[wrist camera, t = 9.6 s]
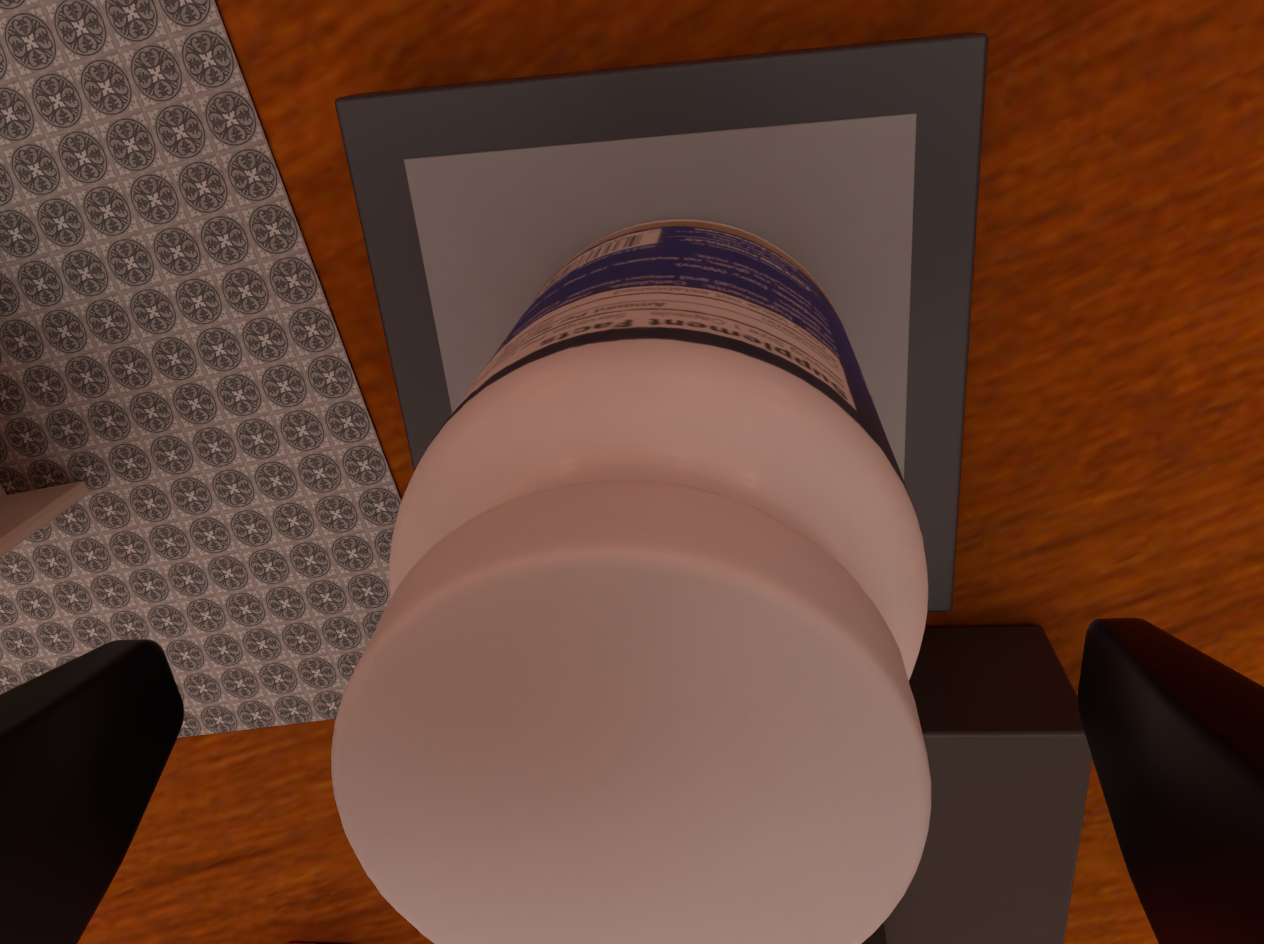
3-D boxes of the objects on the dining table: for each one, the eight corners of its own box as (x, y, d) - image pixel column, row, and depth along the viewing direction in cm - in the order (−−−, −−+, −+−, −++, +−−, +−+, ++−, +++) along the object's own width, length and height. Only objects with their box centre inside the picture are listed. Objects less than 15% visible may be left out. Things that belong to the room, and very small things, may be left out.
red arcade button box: (1042, 623, 19) (1139, 813, 14) (1004, 959, 23) (1069, 1186, 18) (466, 634, 20) (389, 808, 16) (531, 946, 24) (485, 1153, 20)
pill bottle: (794, 555, 17) (857, 1122, 8) (497, 482, 17) (241, 973, 8) (900, 257, 15) (1155, 613, 6) (552, 170, 15) (268, 396, 6)
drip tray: (974, 32, 14) (991, 32, 13) (942, 584, 18) (953, 615, 17) (355, 94, 16) (329, 98, 15) (458, 596, 20) (444, 625, 19)
